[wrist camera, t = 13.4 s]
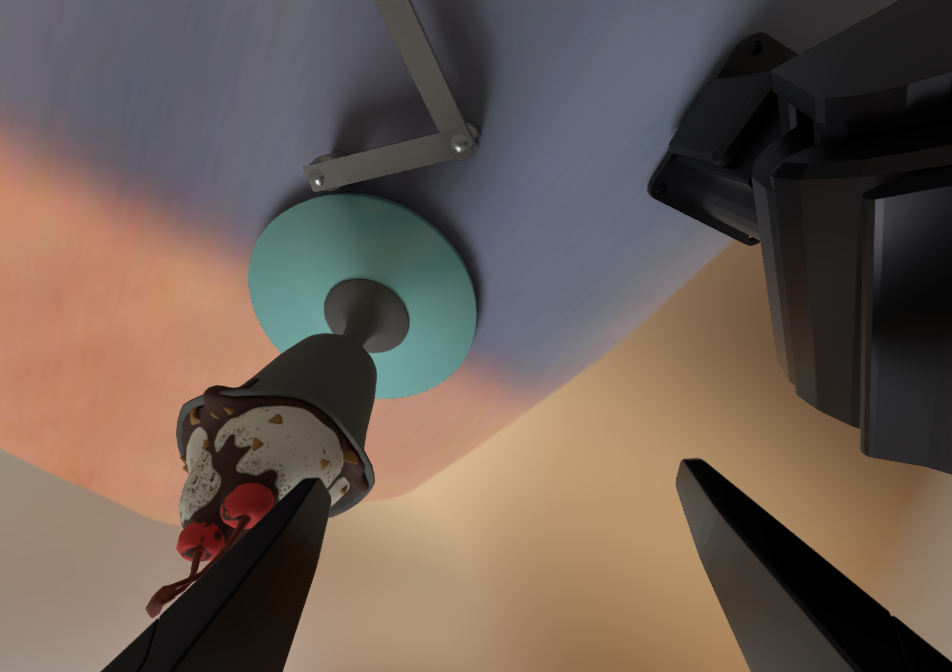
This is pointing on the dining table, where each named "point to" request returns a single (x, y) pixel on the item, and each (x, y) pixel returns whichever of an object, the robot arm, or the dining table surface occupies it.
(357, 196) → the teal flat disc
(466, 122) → the jointed flat metal bars
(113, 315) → the dining table surface
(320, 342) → the sundae
